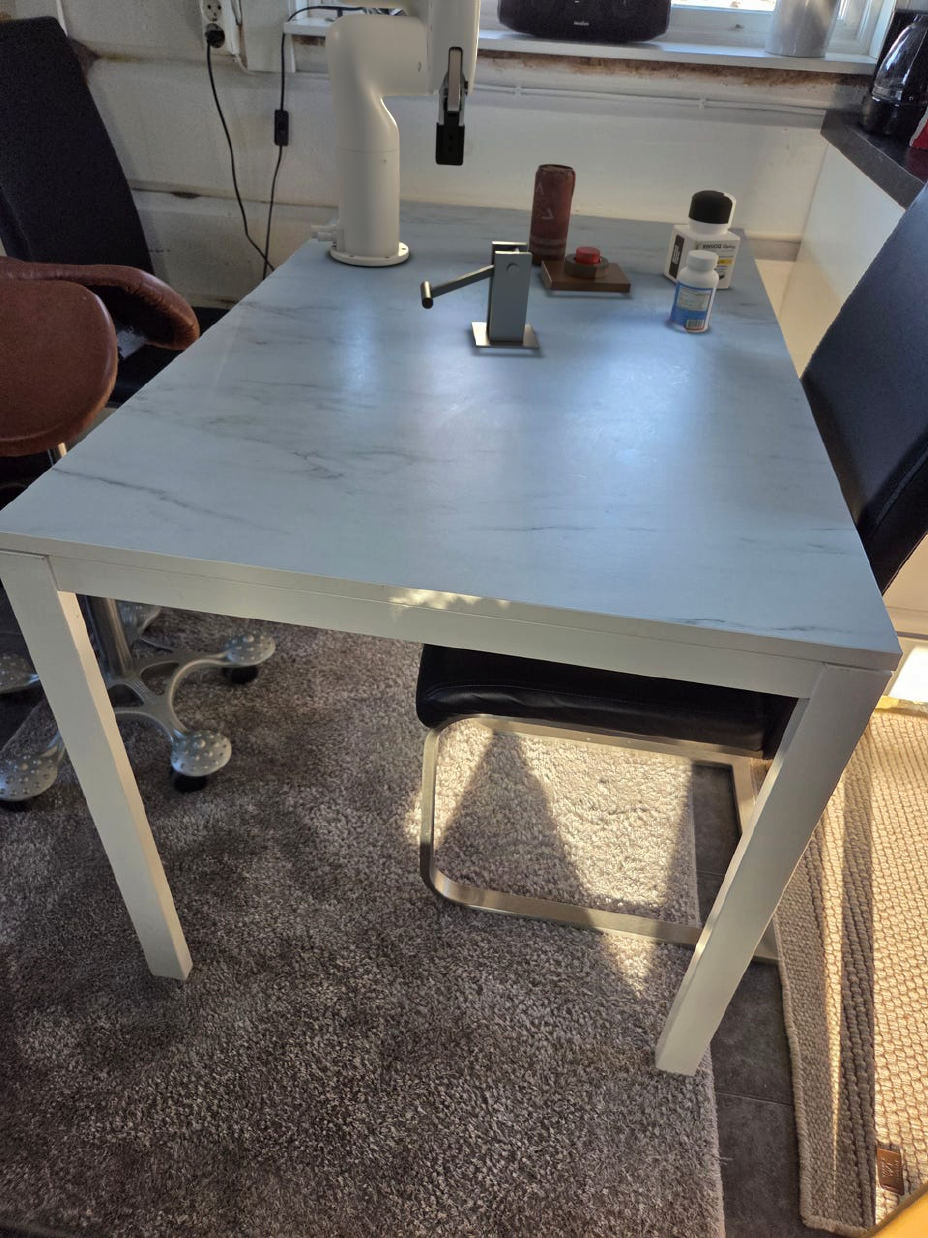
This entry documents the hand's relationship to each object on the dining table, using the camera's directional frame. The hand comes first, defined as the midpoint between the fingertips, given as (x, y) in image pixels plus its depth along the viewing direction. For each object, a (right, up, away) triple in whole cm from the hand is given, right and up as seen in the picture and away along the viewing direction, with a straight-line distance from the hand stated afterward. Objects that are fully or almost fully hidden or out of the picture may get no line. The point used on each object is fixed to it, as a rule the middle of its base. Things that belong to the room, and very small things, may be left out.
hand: (449, 163), depth 96 cm
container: (+39, +1, +36) cm, 53 cm away
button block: (+20, -2, +32) cm, 37 cm away
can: (+15, +6, +41) cm, 44 cm away
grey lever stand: (+7, -17, +12) cm, 22 cm away
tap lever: (+3, -12, +7) cm, 14 cm away
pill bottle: (+33, -12, +20) cm, 41 cm away
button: (+20, +1, +29) cm, 36 cm away
